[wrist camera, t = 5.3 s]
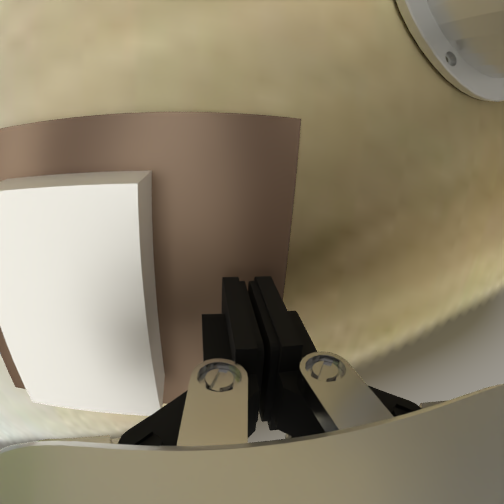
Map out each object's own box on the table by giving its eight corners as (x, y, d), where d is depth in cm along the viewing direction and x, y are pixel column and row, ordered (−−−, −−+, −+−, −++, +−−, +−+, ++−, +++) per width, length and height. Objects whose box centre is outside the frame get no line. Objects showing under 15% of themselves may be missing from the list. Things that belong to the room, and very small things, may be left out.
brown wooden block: (275, 120, 14) (301, 119, 10) (256, 352, 19) (268, 400, 15) (2, 131, 12) (-44, 138, 8) (38, 345, 17) (15, 386, 13)
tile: (151, 170, 10) (137, 183, 8) (164, 375, 14) (161, 416, 11) (7, 178, 9) (-30, 193, 7) (48, 366, 13) (32, 402, 10)
